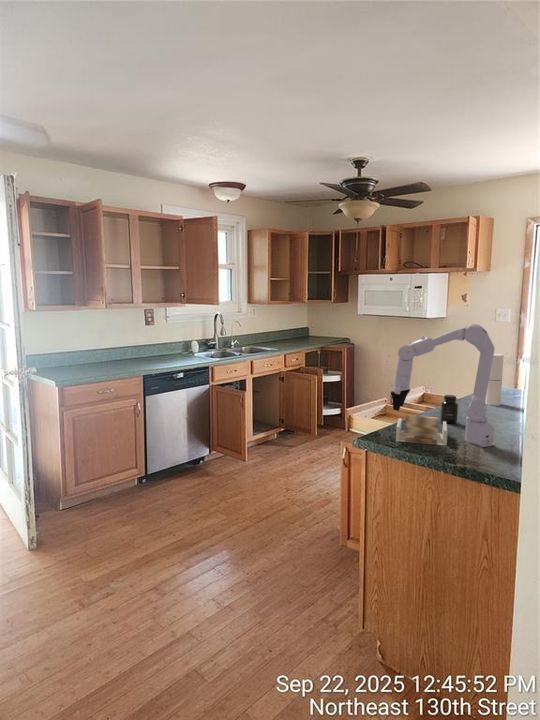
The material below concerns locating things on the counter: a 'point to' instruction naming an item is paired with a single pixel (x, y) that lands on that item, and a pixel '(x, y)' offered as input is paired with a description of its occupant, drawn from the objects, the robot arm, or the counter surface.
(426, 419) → the tall sheet
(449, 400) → the supplement bottle
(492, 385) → the cylindrical container
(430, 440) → the offcut stack
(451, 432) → the counter surface
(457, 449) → the counter surface
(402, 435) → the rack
